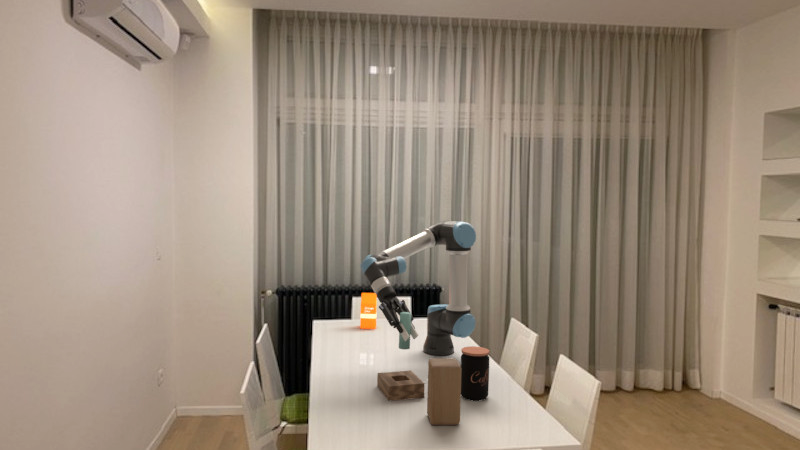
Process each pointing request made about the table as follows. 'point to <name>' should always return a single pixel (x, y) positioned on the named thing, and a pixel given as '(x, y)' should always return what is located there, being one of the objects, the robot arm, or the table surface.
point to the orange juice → (368, 311)
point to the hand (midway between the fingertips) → (411, 338)
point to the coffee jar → (474, 373)
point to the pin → (406, 321)
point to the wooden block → (444, 391)
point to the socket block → (400, 385)
